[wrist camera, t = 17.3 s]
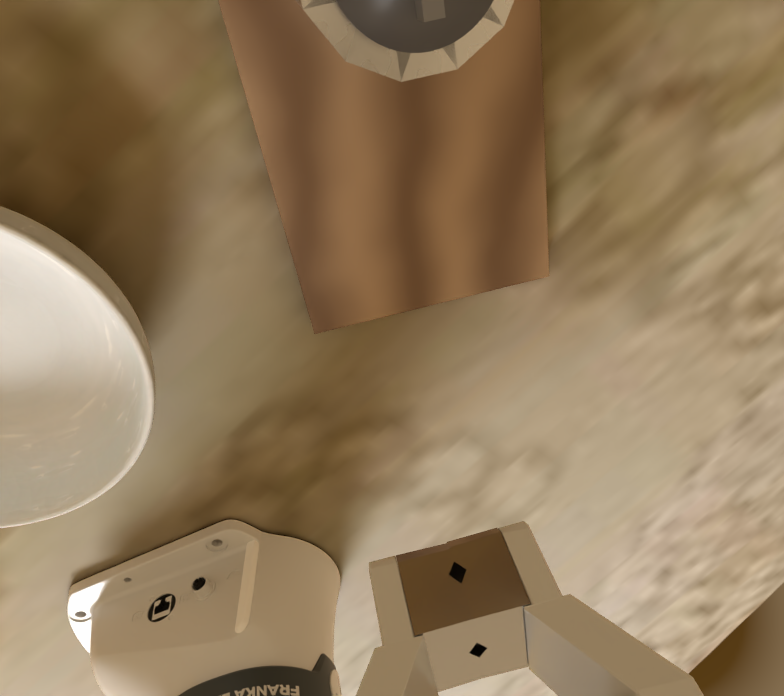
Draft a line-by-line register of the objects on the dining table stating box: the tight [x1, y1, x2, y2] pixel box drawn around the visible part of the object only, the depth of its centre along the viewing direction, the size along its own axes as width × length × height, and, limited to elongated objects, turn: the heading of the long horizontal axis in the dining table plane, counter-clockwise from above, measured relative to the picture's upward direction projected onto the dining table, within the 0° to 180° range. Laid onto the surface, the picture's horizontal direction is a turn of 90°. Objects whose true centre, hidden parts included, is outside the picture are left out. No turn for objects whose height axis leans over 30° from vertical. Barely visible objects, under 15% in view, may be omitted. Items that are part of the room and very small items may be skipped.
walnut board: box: [218, 0, 549, 334], centre depth 34 cm, size 16×26×2 cm, turn 10°
